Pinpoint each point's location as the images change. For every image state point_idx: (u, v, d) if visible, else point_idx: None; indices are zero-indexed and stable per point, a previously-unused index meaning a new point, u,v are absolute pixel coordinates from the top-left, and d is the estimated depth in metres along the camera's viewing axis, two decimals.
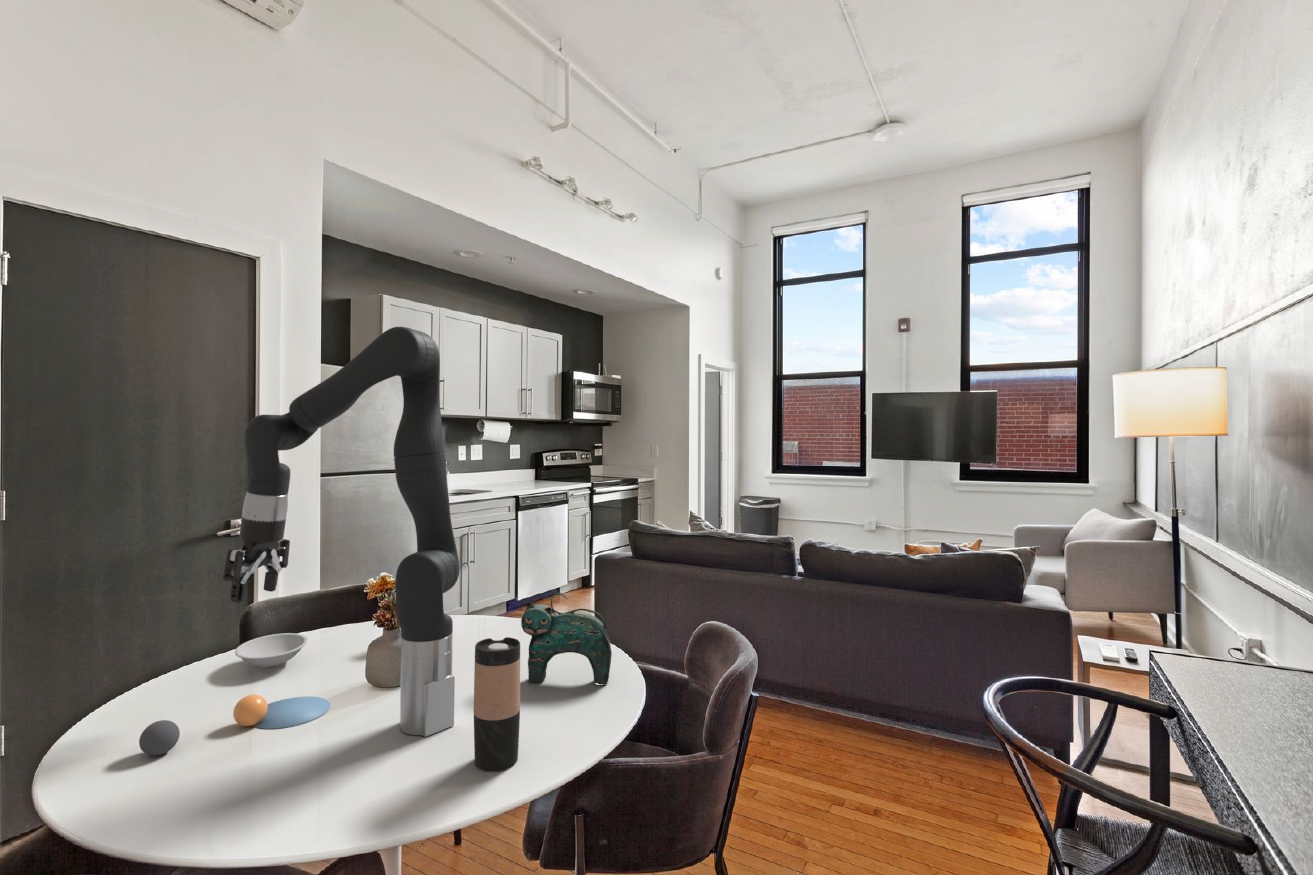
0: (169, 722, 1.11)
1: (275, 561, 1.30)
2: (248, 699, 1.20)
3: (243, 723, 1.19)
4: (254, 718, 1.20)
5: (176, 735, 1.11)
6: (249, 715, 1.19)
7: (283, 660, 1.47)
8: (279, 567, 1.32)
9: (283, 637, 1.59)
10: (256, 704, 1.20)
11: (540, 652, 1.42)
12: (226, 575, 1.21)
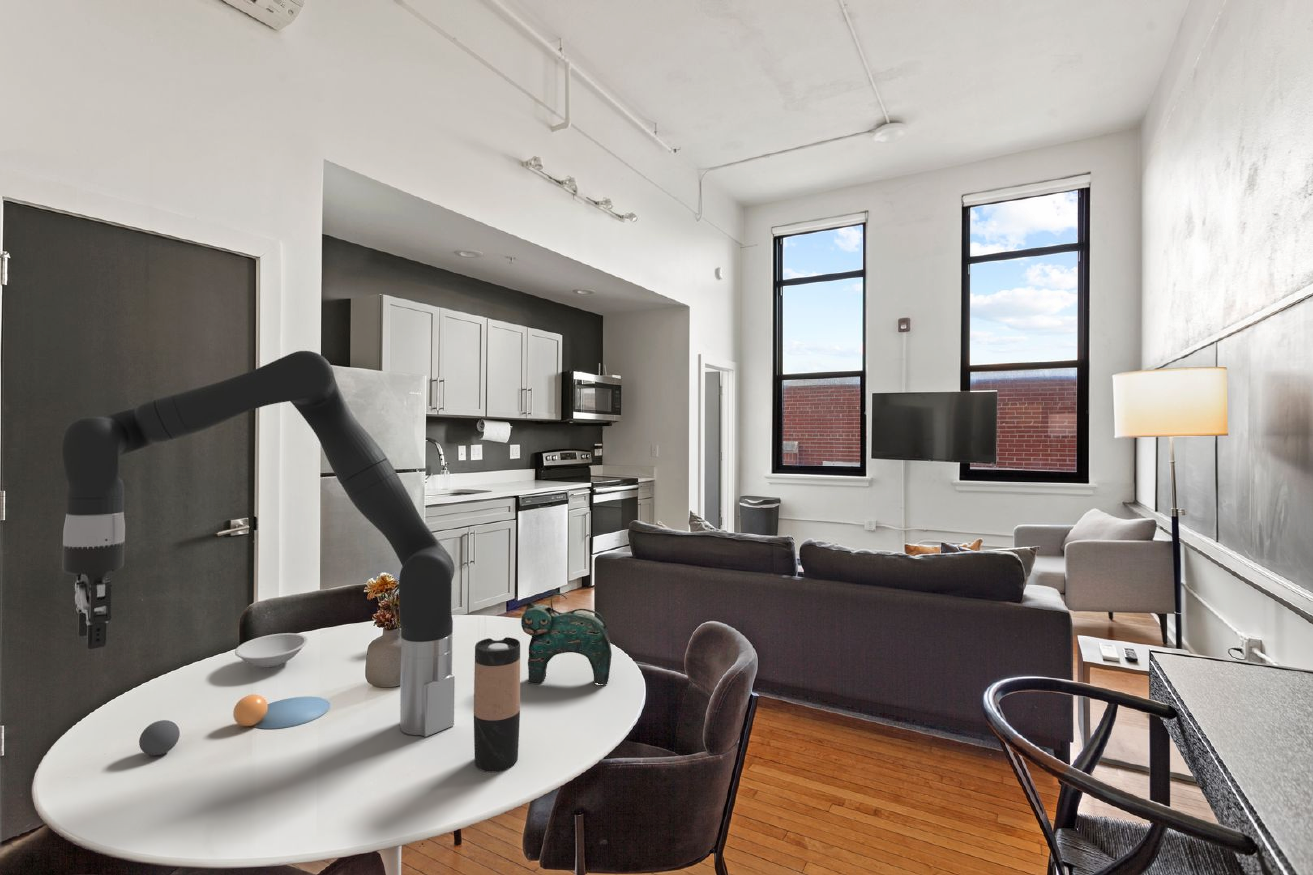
0: (169, 722, 1.11)
1: None
2: (248, 699, 1.20)
3: (243, 723, 1.19)
4: (254, 718, 1.20)
5: (176, 735, 1.11)
6: (249, 715, 1.19)
7: (283, 660, 1.47)
8: None
9: (283, 637, 1.59)
10: (256, 704, 1.20)
11: (540, 652, 1.42)
12: (94, 616, 0.99)
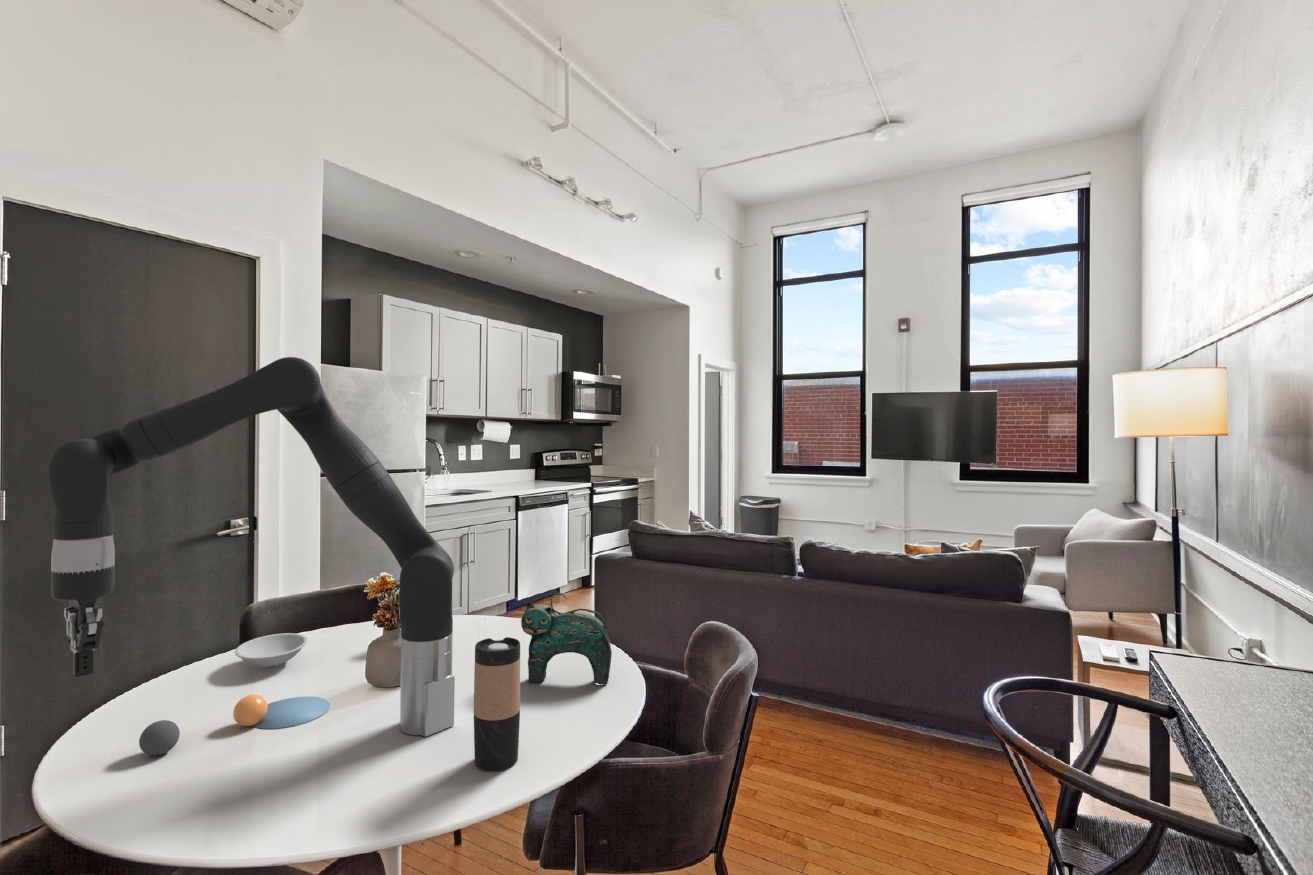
0: (169, 722, 1.11)
1: None
2: (248, 699, 1.20)
3: (243, 723, 1.19)
4: (254, 718, 1.20)
5: (176, 735, 1.11)
6: (249, 715, 1.19)
7: (283, 660, 1.47)
8: None
9: (283, 637, 1.59)
10: (256, 704, 1.20)
11: (540, 652, 1.42)
12: None
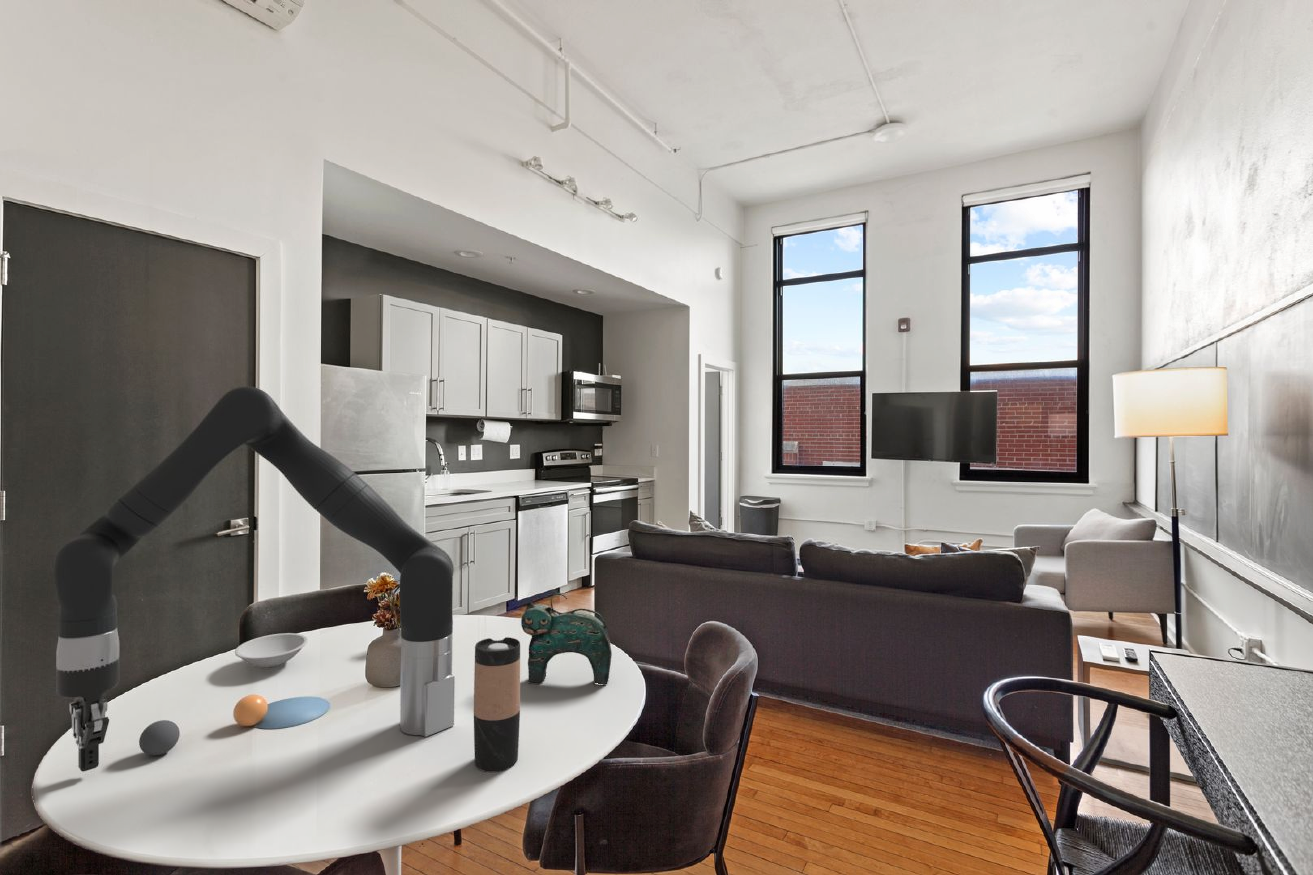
0: (169, 722, 1.11)
1: None
2: (248, 699, 1.20)
3: (243, 723, 1.19)
4: (254, 718, 1.20)
5: (176, 735, 1.11)
6: (249, 715, 1.19)
7: (283, 660, 1.47)
8: None
9: (283, 637, 1.59)
10: (256, 704, 1.20)
11: (540, 652, 1.42)
12: None
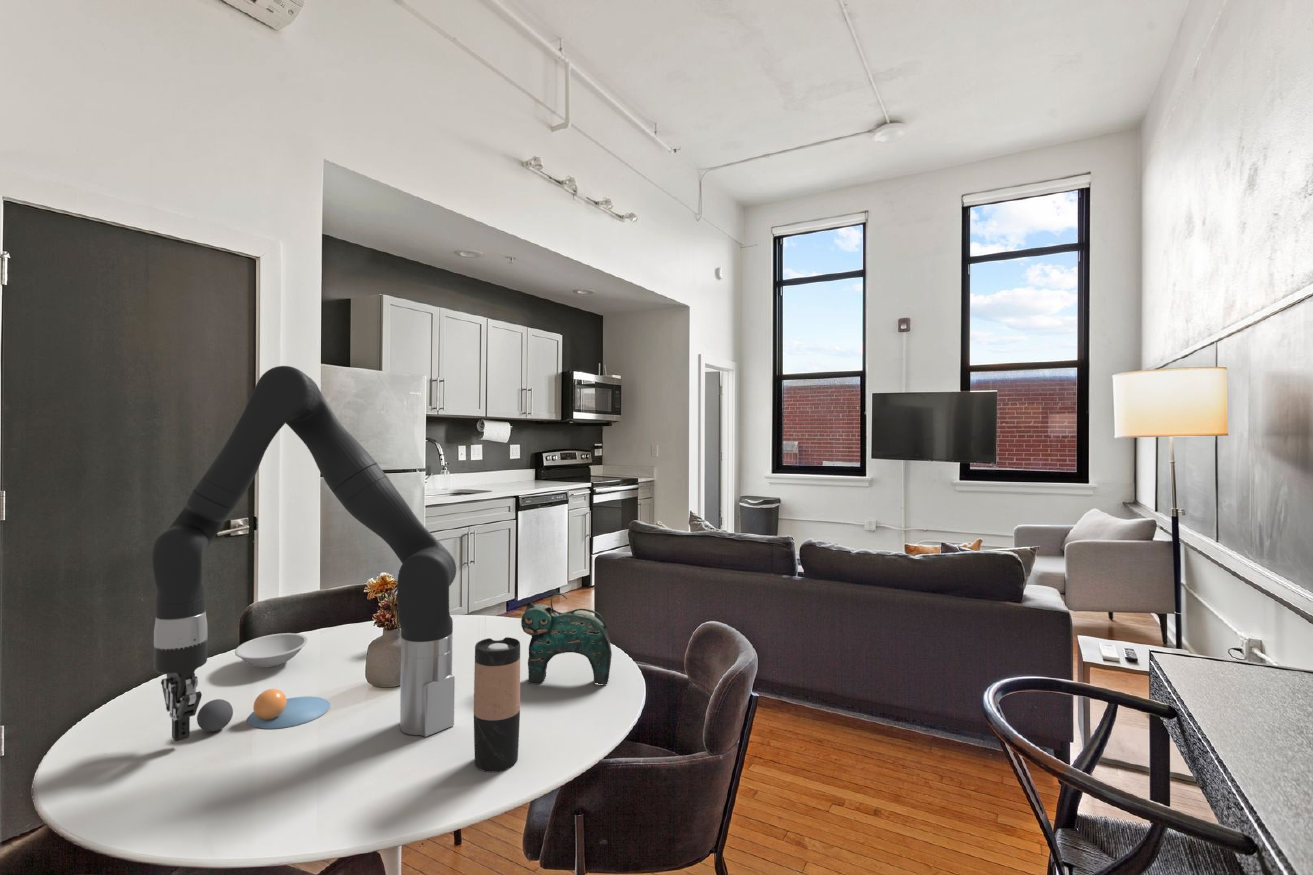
0: (215, 728, 1.18)
1: None
2: (284, 694, 1.25)
3: (262, 703, 1.22)
4: (272, 708, 1.22)
5: (212, 716, 1.17)
6: (273, 702, 1.22)
7: (283, 660, 1.47)
8: None
9: (283, 637, 1.59)
10: (284, 702, 1.24)
11: (540, 652, 1.42)
12: None
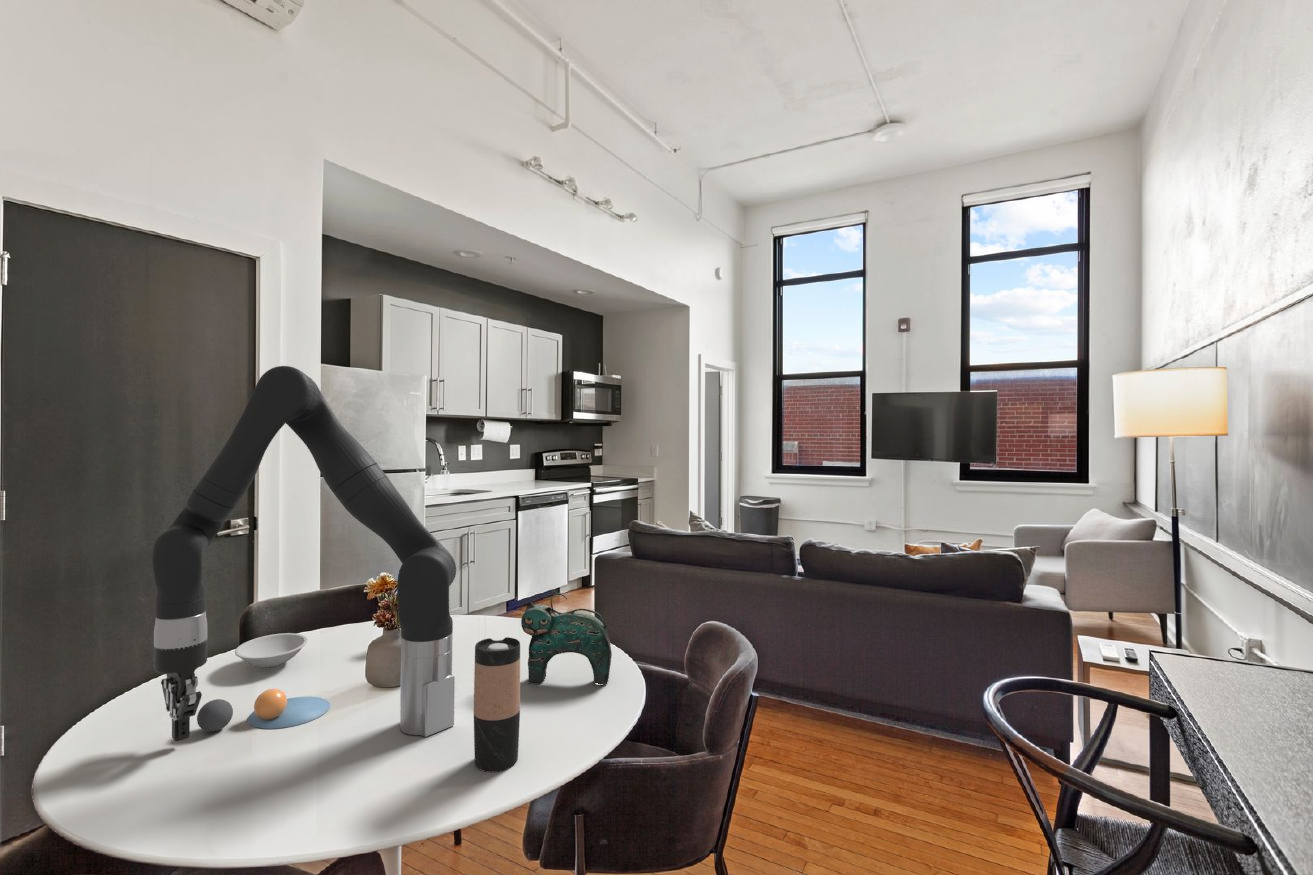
0: (215, 728, 1.18)
1: None
2: (284, 694, 1.25)
3: (263, 702, 1.22)
4: (272, 708, 1.22)
5: (212, 716, 1.17)
6: (274, 702, 1.23)
7: (283, 660, 1.47)
8: None
9: (283, 637, 1.59)
10: (284, 702, 1.24)
11: (540, 652, 1.42)
12: None
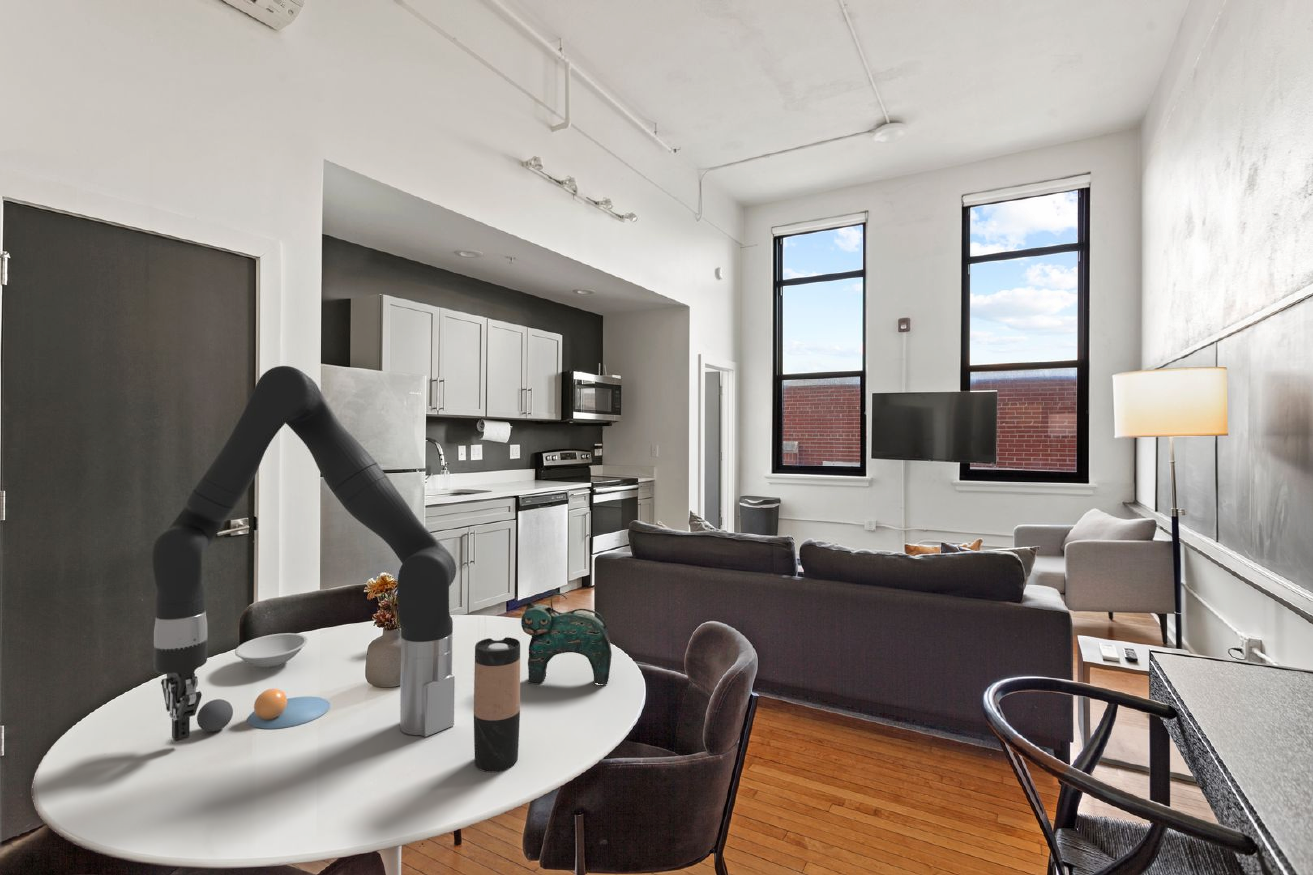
0: (215, 728, 1.18)
1: None
2: (284, 694, 1.25)
3: (263, 702, 1.22)
4: (272, 708, 1.22)
5: (212, 716, 1.17)
6: (274, 702, 1.23)
7: (283, 660, 1.47)
8: None
9: (283, 637, 1.59)
10: (284, 702, 1.24)
11: (540, 652, 1.42)
12: None
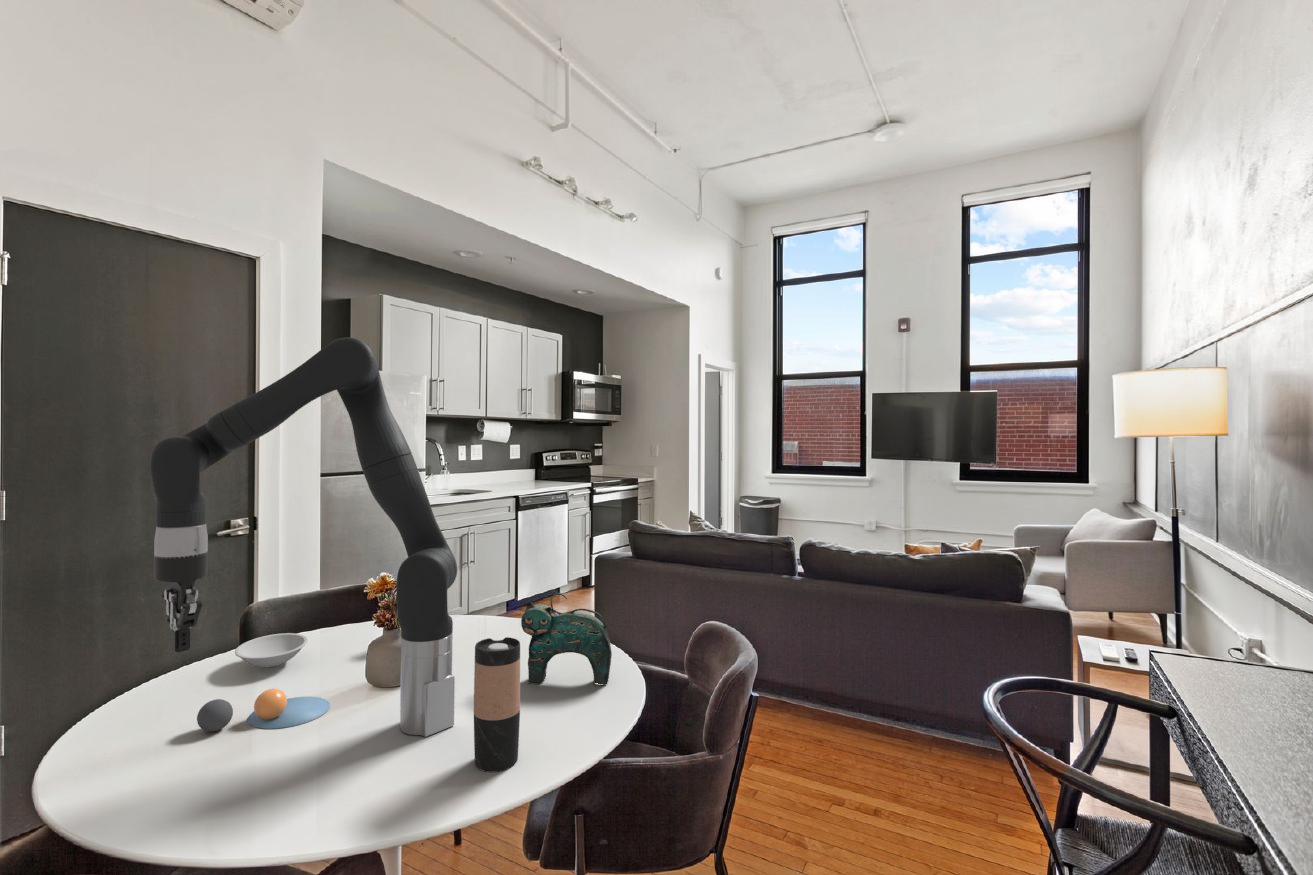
0: (215, 728, 1.18)
1: None
2: (284, 694, 1.25)
3: (263, 702, 1.22)
4: (272, 708, 1.22)
5: (212, 716, 1.17)
6: (274, 702, 1.23)
7: (283, 660, 1.47)
8: None
9: (283, 637, 1.59)
10: (284, 702, 1.24)
11: (540, 652, 1.42)
12: None
